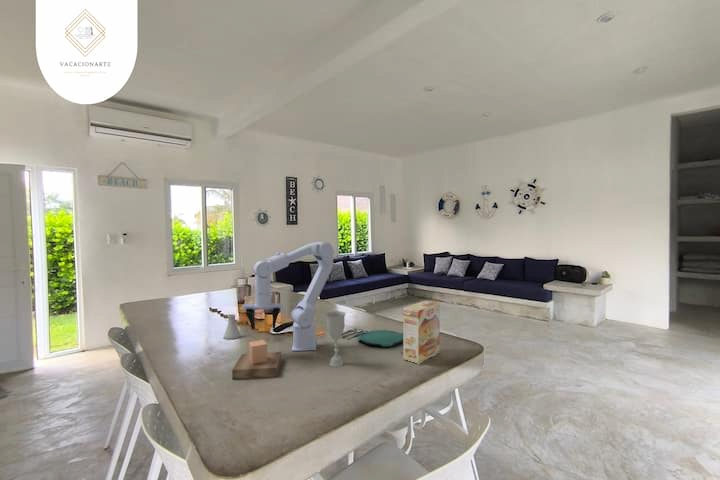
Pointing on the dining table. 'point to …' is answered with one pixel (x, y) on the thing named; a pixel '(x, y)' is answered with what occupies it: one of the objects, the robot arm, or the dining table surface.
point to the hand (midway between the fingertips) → (263, 328)
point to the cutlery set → (377, 337)
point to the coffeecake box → (421, 331)
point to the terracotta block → (258, 351)
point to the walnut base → (257, 367)
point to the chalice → (335, 333)
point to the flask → (232, 328)
